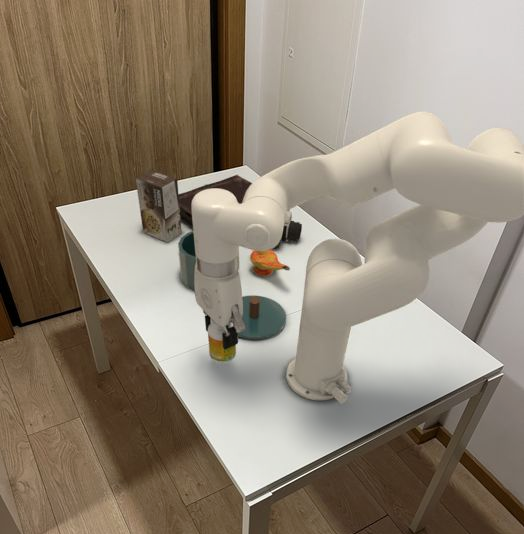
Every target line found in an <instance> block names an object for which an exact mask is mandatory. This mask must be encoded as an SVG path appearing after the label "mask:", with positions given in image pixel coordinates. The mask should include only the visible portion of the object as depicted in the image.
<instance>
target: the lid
mask: <svg viewBox="0 0 524 534" xmlns="http://www.w3.org/2000/svg"><path fill="white" fill-rule="evenodd" d="M242 299H243V315H242V320H243V323H244V325H245V328H246V329H245V330H243V331H241V332H238V337H240V338H245V339H251V340H261V339H267V338H270V337H273V336H274V335H277V334H278V333H279V332H281V331H282V330H283V328H284V327H285V325H286V322H287V314H286V311H285V309H284V307H283V306H282V305H281V304H280V303H279V302H277V301H276V300H275V299H272V298H269V297H267V296H262V295H242ZM231 322H232V321H231ZM232 323H233V322H232Z"/></svg>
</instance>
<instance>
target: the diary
mask: <svg viewBox="0 0 524 534" xmlns="http://www.w3.org/2000/svg"><path fill="white" fill-rule="evenodd" d="M252 183H253V182H251V181H249V180H247V179H246V178H244V177H242V176H240V175H238V174H235V175H232V176H229V177H227V178H224V179H222V180H219V181H218V180H217V181H215V182H212V183H208V184H204V185H202V186H199V187H195V188H193V189H191V190H188V191H185V192H182V193H178V195H179V207H180V221H181V222H183V223H184V224H185V225H187V226H188V227H189V228H191V229H192V230H193V221H192V208H191V204H192V200H193V198H194V196H195V195H196V194H197V193H199V192H201V191H203V190H206V189H212V188H218V189H224V190H227V191H229V192H231V193H232V194H233V195H234V196H235V197H236V199H237V202H238V203H239V204H242V201H243V198H244V196H245V193H246V191H247V189H248V188H249V186H250V185H251V184H252Z"/></svg>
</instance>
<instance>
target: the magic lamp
mask: <svg viewBox="0 0 524 534" xmlns="http://www.w3.org/2000/svg"><path fill="white" fill-rule="evenodd" d="M249 260H250V262H251V264H252V265H253V269H252V271H253V272H252V273H254V274H255V275H257V276H259V277H268V276H270V275H272V274H273V271H281V270H284V271H290V270H291V267H290V266H288V265H286V264H283V263H281V262H280V260H279V259H278V255H277V254H276V253H275V252H274V250H271V249H270V250H267V251H256V250H252V252H250V255H249Z"/></svg>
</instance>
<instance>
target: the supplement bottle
mask: <svg viewBox="0 0 524 534" xmlns="http://www.w3.org/2000/svg"><path fill="white" fill-rule="evenodd" d="M210 321H211V324H210V325H209V327H208V332H207V339H208V352H209V357H210V359H211V360H212V361H213V362H215V363H219V364H226V363H230V362H231V361H233V360H234V359H235V357H236V355H237V344H236V345H234V346H232V347H230V348H228V349H226V350H225V349H224V348H223V339H222V333H224V329H223V326H220V325H218V324H217V323H216V322H215V321H214V320H213V319H212V318H210ZM230 327H233V323H232V322H229V323H228V328H230Z"/></svg>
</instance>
